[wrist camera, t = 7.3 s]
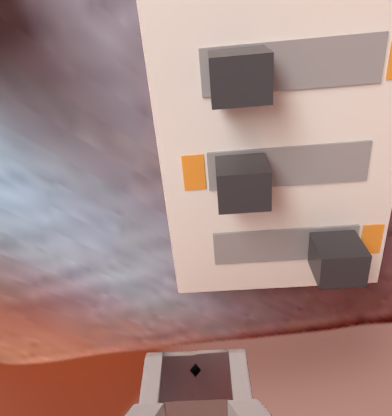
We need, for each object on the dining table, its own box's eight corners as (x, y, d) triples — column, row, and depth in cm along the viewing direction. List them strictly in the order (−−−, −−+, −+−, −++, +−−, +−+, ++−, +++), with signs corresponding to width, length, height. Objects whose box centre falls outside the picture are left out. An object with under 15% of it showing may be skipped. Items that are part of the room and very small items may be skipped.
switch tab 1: (210, 96, 21) (211, 110, 18) (207, 50, 20) (208, 58, 17) (264, 91, 21) (272, 105, 18) (264, 45, 20) (273, 52, 17)
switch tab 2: (217, 191, 24) (218, 214, 21) (214, 156, 23) (216, 176, 20) (264, 188, 24) (271, 211, 21) (264, 152, 23) (272, 172, 20)
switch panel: (181, 261, 32) (178, 294, 29) (146, -3, 23) (135, -4, 19) (358, 251, 31) (378, 284, 28) (400, -29, 22) (440, -35, 18)
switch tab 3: (307, 260, 26) (318, 289, 24) (309, 232, 25) (321, 259, 23) (350, 258, 26) (366, 286, 24) (354, 229, 25) (372, 256, 23)
